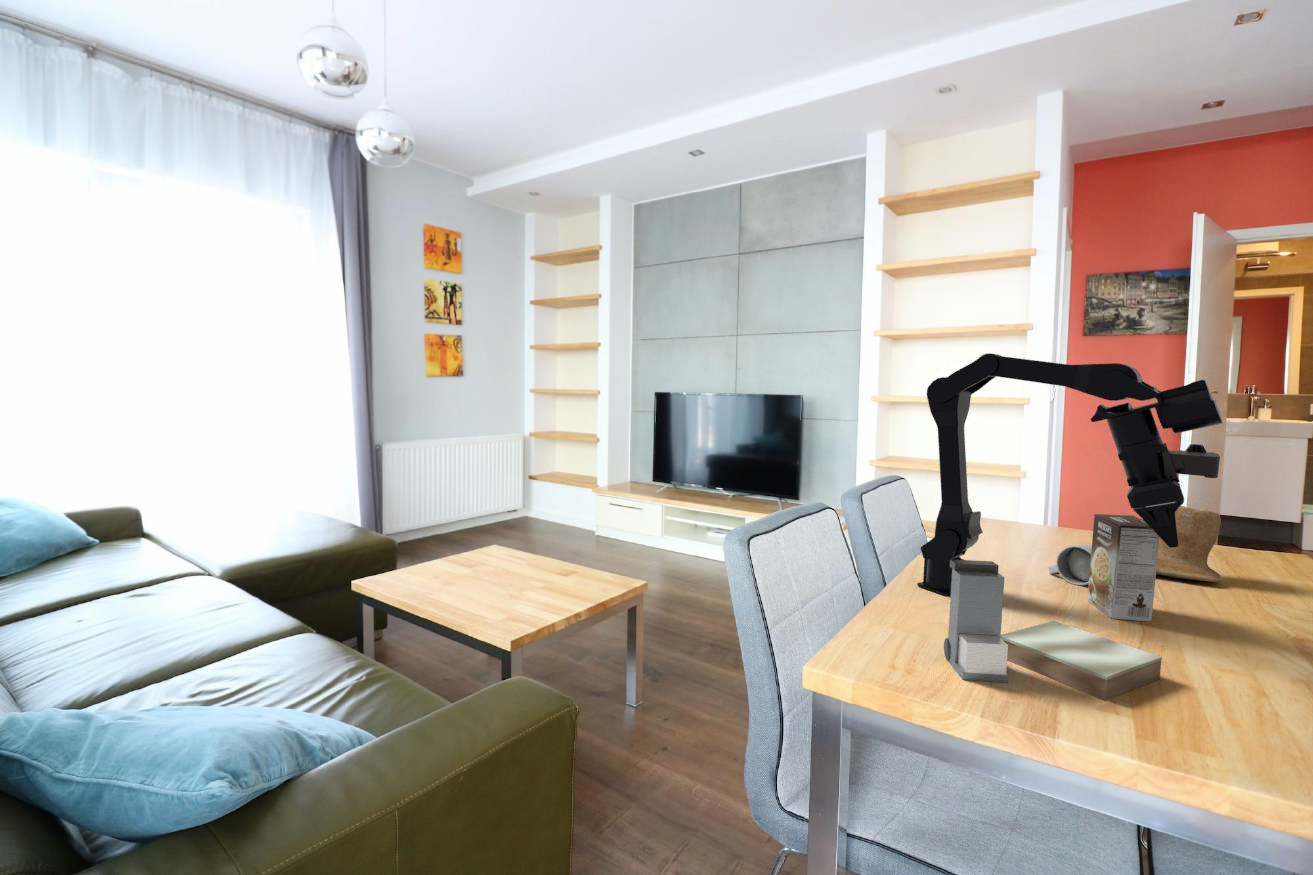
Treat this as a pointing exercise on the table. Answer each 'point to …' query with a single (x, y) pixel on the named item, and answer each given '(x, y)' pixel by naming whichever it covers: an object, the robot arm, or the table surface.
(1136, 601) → the coffee box
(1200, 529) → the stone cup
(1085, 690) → the plate
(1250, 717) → the table surface
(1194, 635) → the table surface
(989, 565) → the hand trolley
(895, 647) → the table surface
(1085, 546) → the ceramic mug
